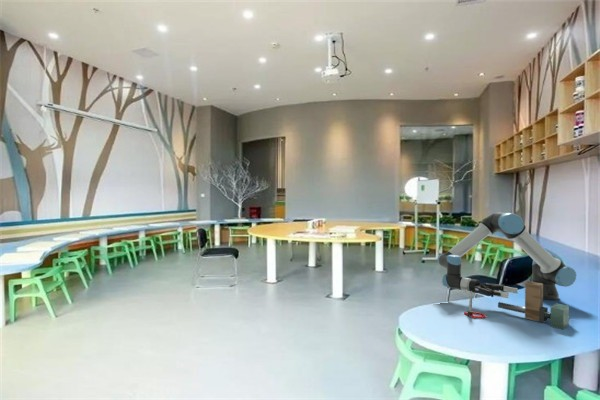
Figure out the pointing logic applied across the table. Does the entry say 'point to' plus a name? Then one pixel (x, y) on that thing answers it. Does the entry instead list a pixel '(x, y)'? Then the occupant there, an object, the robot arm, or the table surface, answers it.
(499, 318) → the table surface
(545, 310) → the collar
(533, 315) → the sleeve
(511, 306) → the rod stand
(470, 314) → the tow hook
